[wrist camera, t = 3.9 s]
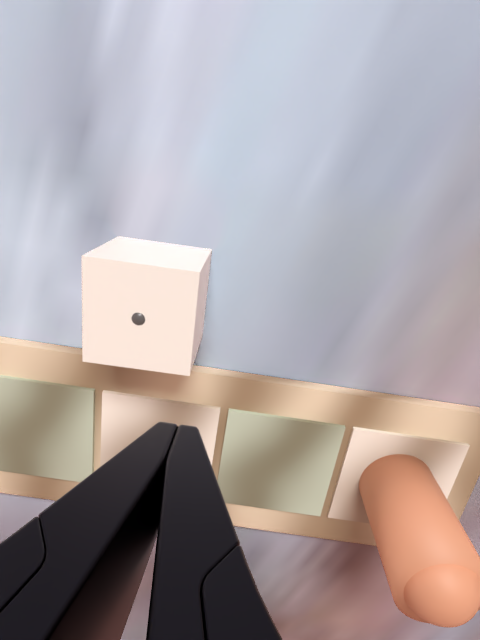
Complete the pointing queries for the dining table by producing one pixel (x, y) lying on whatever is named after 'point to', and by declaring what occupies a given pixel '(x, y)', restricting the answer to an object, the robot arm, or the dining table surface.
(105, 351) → the die
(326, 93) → the dining table surface
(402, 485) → the peach rounded cylinder
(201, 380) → the board
